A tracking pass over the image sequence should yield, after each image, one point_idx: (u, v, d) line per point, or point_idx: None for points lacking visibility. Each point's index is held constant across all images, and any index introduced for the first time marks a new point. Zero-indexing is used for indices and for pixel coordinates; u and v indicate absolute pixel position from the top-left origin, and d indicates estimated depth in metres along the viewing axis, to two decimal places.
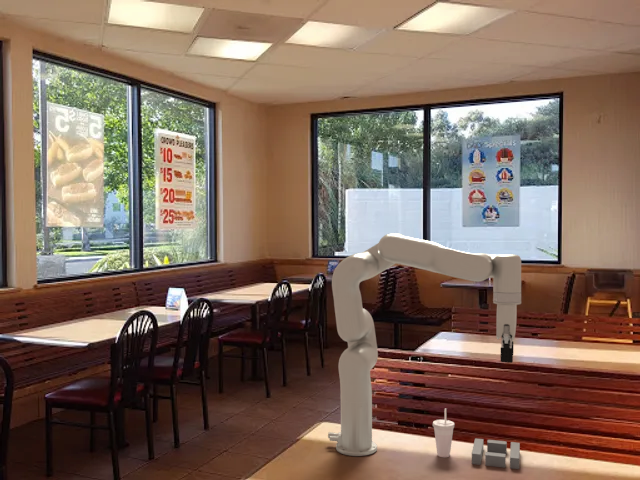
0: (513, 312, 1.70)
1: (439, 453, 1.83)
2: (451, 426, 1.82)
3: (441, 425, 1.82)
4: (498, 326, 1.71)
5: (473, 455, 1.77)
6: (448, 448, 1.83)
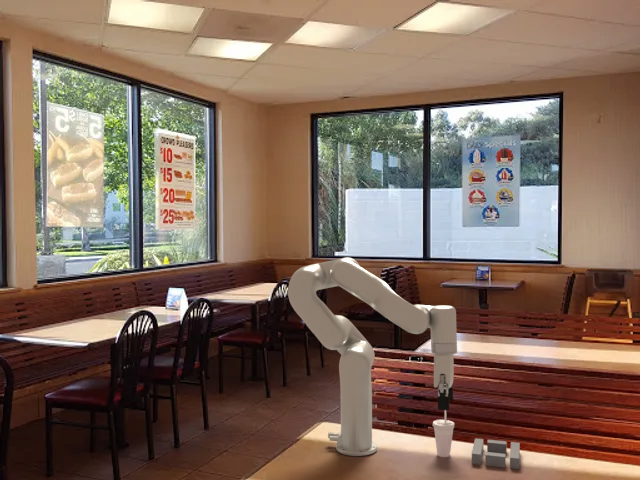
0: (448, 362, 1.79)
1: (439, 453, 1.83)
2: (451, 426, 1.82)
3: (441, 425, 1.82)
4: (435, 375, 1.80)
5: (473, 455, 1.77)
6: (448, 448, 1.83)
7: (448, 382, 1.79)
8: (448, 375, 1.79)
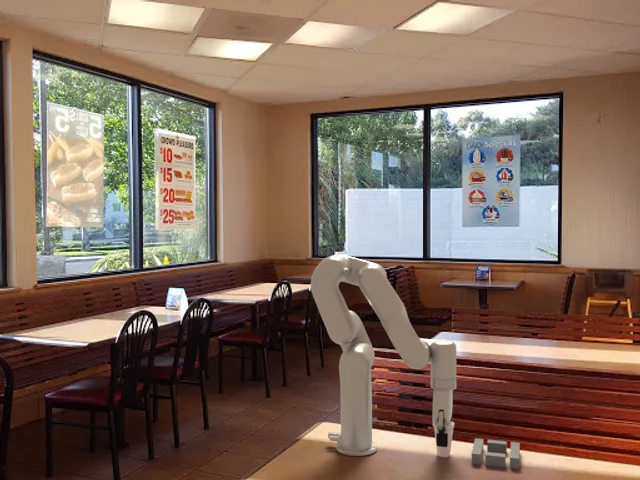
0: (447, 398, 1.79)
1: (440, 453, 1.83)
2: (451, 426, 1.82)
3: None
4: (433, 411, 1.80)
5: (473, 455, 1.77)
6: (448, 448, 1.83)
7: (447, 418, 1.79)
8: (447, 411, 1.79)
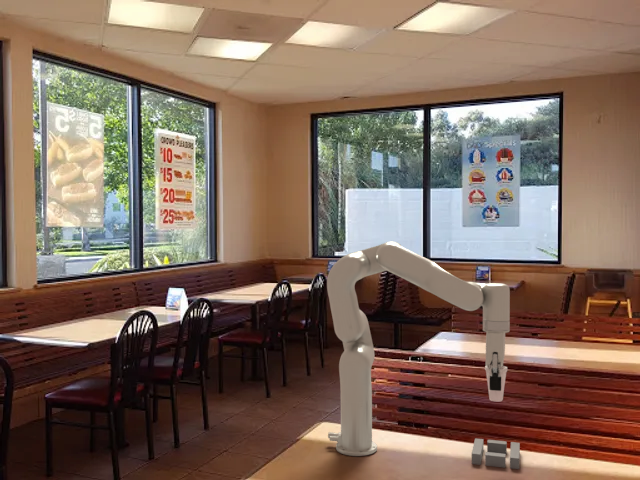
0: (501, 340, 1.76)
1: (492, 397, 1.80)
2: (504, 369, 1.78)
3: None
4: (487, 353, 1.77)
5: (473, 455, 1.77)
6: (501, 392, 1.79)
7: (501, 360, 1.76)
8: (501, 353, 1.76)
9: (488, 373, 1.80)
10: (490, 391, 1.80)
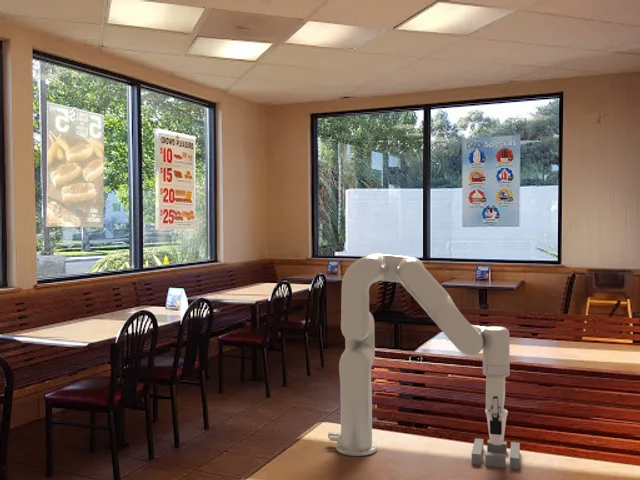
0: (502, 385, 1.76)
1: (493, 440, 1.80)
2: (505, 413, 1.79)
3: None
4: (487, 398, 1.77)
5: (473, 455, 1.77)
6: (502, 436, 1.80)
7: (501, 405, 1.76)
8: (501, 398, 1.76)
9: (488, 417, 1.80)
10: (491, 434, 1.80)
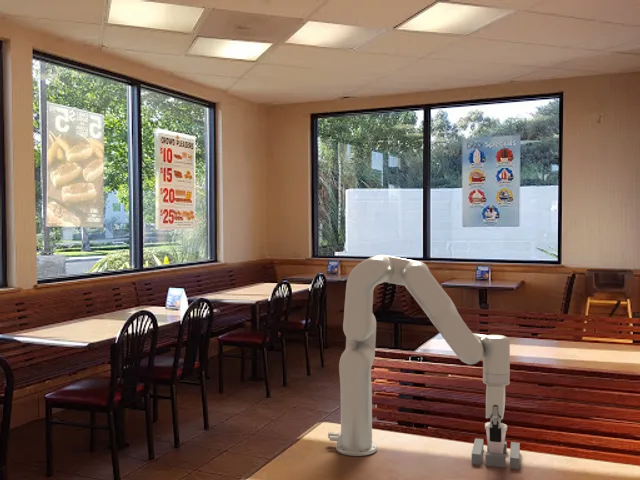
0: (502, 393, 1.76)
1: None
2: (504, 428, 1.79)
3: None
4: (487, 406, 1.77)
5: (473, 455, 1.77)
6: (501, 451, 1.80)
7: (501, 414, 1.76)
8: (501, 407, 1.76)
9: (488, 431, 1.81)
10: (490, 449, 1.81)
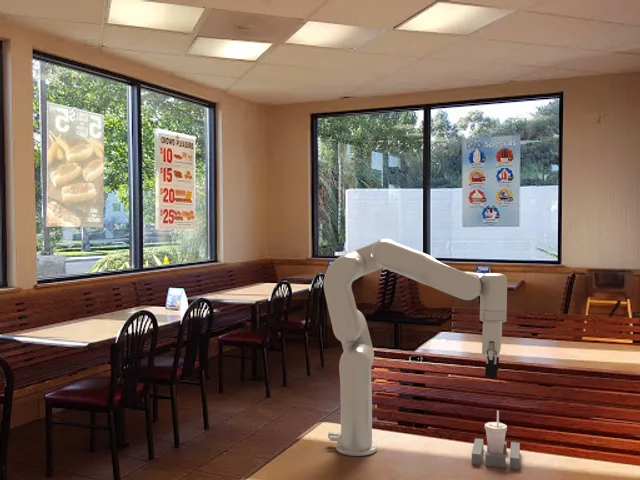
0: (498, 330, 1.77)
1: None
2: (504, 429, 1.79)
3: (494, 428, 1.79)
4: (483, 343, 1.78)
5: (473, 455, 1.77)
6: (501, 451, 1.80)
7: (497, 350, 1.76)
8: (497, 343, 1.76)
9: (488, 432, 1.80)
10: (490, 450, 1.81)
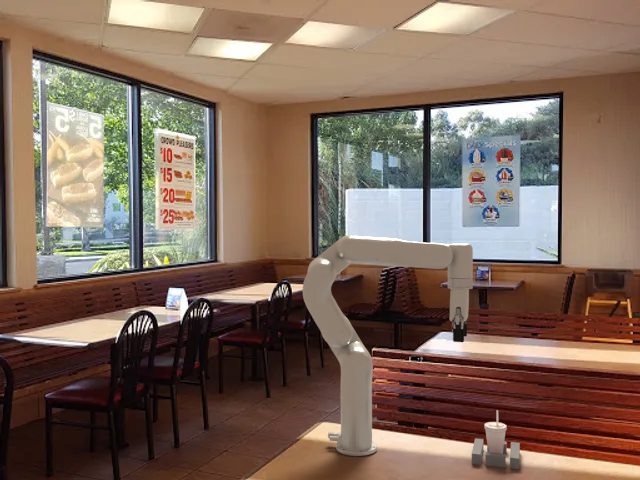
0: (464, 296, 1.86)
1: None
2: (504, 428, 1.79)
3: (494, 427, 1.79)
4: (451, 309, 1.87)
5: (473, 455, 1.77)
6: (501, 451, 1.80)
7: (464, 315, 1.85)
8: (464, 308, 1.85)
9: (488, 432, 1.80)
10: (490, 450, 1.81)
